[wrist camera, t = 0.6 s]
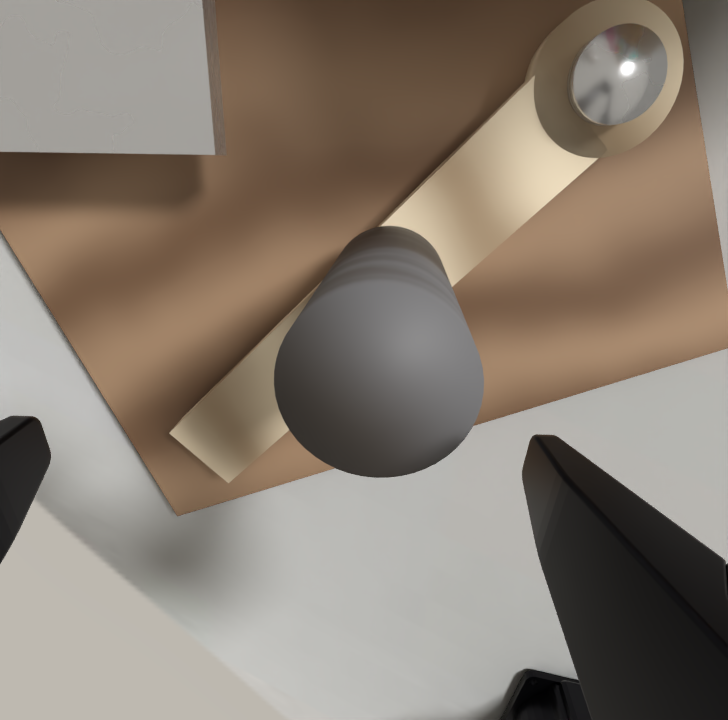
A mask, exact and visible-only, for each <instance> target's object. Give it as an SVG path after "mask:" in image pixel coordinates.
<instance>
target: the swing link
mask: <svg viewBox="0 0 728 720" xmlns="http://www.w3.org/2000/svg"><path fill="white" fill-rule="evenodd" d="M626 23H633V24H639V25H642V26H645V27H647V28H649V29H650V30H652V31H653V32H654V33H655V34H656V35H657V36H658V37H659V38H660V40H661V41H662V43H663V45H664V47H665V50H666V54H667V61H668V68H667V76H666V80H665V83H664V86H663V88H662V90H661V92H660V94H659V96H658V98H657V99H656V101H655V102H654V103H653V104H652V105H651V107H650V108H649V109H648V110H647V111H645V112H644V113H643V114H642V115H640V116H638V117H637V118H635V119H633V120H631V121H629V122H626V123H622V124H616V125H611V126H596V125H592V124H589V123H587V122H585V121H584V120H582V119H581V118H580V117H579V116H578V115H577V114H576V113H575V112H574V110H573V109H572V107H571V105H570V103H569V99H568V95H567V78H568V73H569V70H570V67H571V64H572V62H573V60H574V58H575V57H576V55H577V54H578V52H579V51H580V49H581V48H582V47H583V46H584V45H585V44H586V43H587V42H589V41H590V40H591V39H593V38H594V37H596V36H597V35H599V34H600V33H602V32H603V31H605V30H607V29H609V28H611V27H613V26H616V25H620V24H626ZM683 63H684V59H683V49H682V45H681V40H680V37H679V35H678V32H677V30H676V28H675V26H674V24H673V23H672V21H671V20H670V18H669V17H668V16H667V15H666V14H665V13H664V12H663V11H662V10H661V9H660V8H659V7H657V6H656V5H654V4H653V3H651V2H649V1H647V0H595V1H592V2H590V3H588V4H586V5H584V6H583V7H581V8H579V9H578V10H576V11H575V12H574V13H572V14H571V15H570V16H569V17H568V18H566V19H565V20H564V21H563V22H562V23H561V24H560V25H558V26H557V27H556V28H555V29H554V30H553V31H552V32H550V33H549V35H548V36H547V37H546V38H545V39H544V40H543V41H542V43H541V44H540V46H539V47H538V49H537V50H536V52H535V54H534V56H533V57H532V59H531V62H530V64H529V67H528V70H527V73H526V76H525V82H524V83H523V84H522V85H521V86H520V87H519V88H518V89H517V90H516V91H515V92H514V93H513V94H512V95H511V96H510V97H509V98H508V99H507V100H506V101H505V102H504V103H503V104H502V105H501V106H500V107H499V108H498V109H497V110H496V111H494V112H493V113H492V114H491V115H490V116H489V117H488V118H487V119H486V120H485V121H484V122H483V123H482V124H481V125H480V126H479V127H478V128H477V129H476V130H475V131H474V132H473V133H472V134H471V135H470V136H469V137H468V138H467V139H466V140H465V141H464V142H463V143H462V144H461V145H460V146H459V147H458V148H457V149H456V150H455V151H454V152H453V153H452V154H451V155H450V156H449V157H448V158H447V159H446V160H445V161H444V162H442V163H441V164H440V165H439V166H438V167H437V168H436V169H435V170H434V171H433V172H432V173H431V174H430V175H429V176H428V177H427V178H426V179H425V180H424V181H423V182H422V183H421V184H420V185H419V186H418V187H417V188H416V189H415V190H414V191H413V192H412V193H411V194H410V195H409V196H408V197H407V198H406V199H405V200H404V201H403V202H402V203H401V204H400V205H399V206H398V207H397V208H396V209H395V210H394V211H393V212H392V213H390V214H389V215H388V216H387V217H386V218H385V219H384V220H383V221H382V222H381V223H380V224H379V225H378V226H377V227H375V228H372V229H369V230H367V231H365V232H362V233H361V234H359V235H358V236H356V237H355V238H353V239H352V240H351V241H350V242H349V243H348V244H347V245H346V246H345V248H344V249H343V251H342V252H341V253H340V255H339V256H338V258H337V259H336V261H335V262H334V264H333V265H332V267H331V268H330V270H329V271H328V273H327V274H326V276H325V277H324V279H323V280H322V281H321V282H320V283H319V284H318V285H317V286H316V287H315V288H314V289H313V290H312V291H311V292H310V293H309V294H308V295H307V296H306V297H305V298H304V299H303V300H302V301H301V302H300V303H299V304H298V305H297V306H296V307H295V308H294V309H293V310H292V311H291V312H290V313H289V314H288V315H286V316H285V317H284V318H283V319H282V320H281V321H280V322H279V323H278V324H277V325H276V326H275V327H274V328H273V329H272V330H271V331H270V332H269V333H268V334H267V335H266V336H265V337H264V338H263V339H262V340H261V341H260V342H259V343H258V344H257V345H256V346H255V347H254V348H253V349H252V350H251V351H250V352H249V353H248V354H247V355H246V356H245V357H244V358H243V359H242V360H241V361H240V362H239V363H238V364H237V365H236V366H234V367H233V368H232V369H231V370H230V371H229V372H228V373H227V374H226V375H225V376H224V377H223V378H222V379H221V380H220V381H219V382H218V383H217V384H216V385H215V386H214V387H213V388H212V389H211V390H210V391H209V392H208V393H207V394H206V395H205V396H204V397H203V398H202V399H201V400H200V401H199V402H198V403H197V404H196V405H195V406H194V407H193V408H192V409H191V410H190V411H189V412H188V413H187V414H186V415H185V416H184V417H183V418H182V419H181V420H180V421H179V422H178V423H177V425H176V426H175V427H174V428H173V429H172V430H171V432H170V433H169V434H171V435H172V436H173V437H174V438H175V439H176V440H178V441H179V442H180V443H181V444H182V445H184V446H185V447H186V448H187V449H188V450H190V451H191V452H192V453H193V454H194V455H195V456H197V457H198V458H199V459H200V460H201V461H203V462H204V463H205V464H206V465H207V466H209V467H210V468H211V469H212V470H213V471H214V472H216V473H217V474H218V475H219V476H220V477H222V478H223V479H224V480H225V481H226V482H227V483H230V482H231V481H232V480H233V479H234V478H235V477H236V476H238V475H239V474H240V473H241V472H242V471H243V470H244V469H245V468H247V467H248V466H249V465H250V464H251V463H252V462H253V461H255V460H256V459H257V458H258V457H259V456H260V455H261V454H263V453H264V452H265V451H266V450H267V449H268V448H269V447H271V446H272V445H273V444H274V443H275V442H276V441H277V440H278V439H280V438H281V437H282V436H283V435H284V434H285V433H286V432H288V431H289V430H290V432H291V433H292V434H293V436H294V437H295V438H296V440H297V441H298V442H299V443H300V444H301V445H302V446H303V447H304V448H305V449H306V450H307V451H309V452H310V453H311V454H312V455H314V456H315V457H316V458H318V459H320V460H321V461H323V462H324V463H326V464H328V465H330V466H332V467H334V468H336V469H339V470H342V471H345V472H347V473H351V474H355V475H360V476H366V477H396V476H403V475H407V474H411V473H415V472H417V471H420V470H423V469H425V468H427V467H429V466H431V465H434V464H436V463H437V462H439V461H440V460H442V459H443V458H445V457H446V456H448V455H449V454H450V453H451V452H452V451H453V450H455V449H456V448H457V447H458V446H459V444H460V443H461V442H462V441H463V440H464V439H465V437H466V436H467V435H468V433H469V432H470V430H471V429H472V427H473V425H474V423H475V421H476V419H477V417H478V414H479V411H480V408H481V404H482V399H483V393H484V375H483V367H482V363H481V359H480V355H479V352H478V350H477V348H476V345H475V343H474V340H473V338H472V335H471V333H470V330H469V328H468V325H467V323H466V320H465V318H464V316H463V313H462V311H461V308H460V306H459V303H458V301H457V298H456V296H455V293H454V291H453V288H452V287H453V286H454V285H455V284H456V283H457V282H458V281H459V280H461V279H462V278H463V277H464V276H465V275H466V274H467V273H469V272H470V271H471V270H472V269H473V268H474V267H475V266H477V265H478V264H479V263H480V262H481V261H482V260H483V259H484V258H486V257H487V256H488V255H489V254H490V253H491V252H492V251H494V250H495V249H496V248H497V247H498V246H499V245H500V244H502V243H503V242H504V241H505V240H506V239H507V238H508V237H510V236H511V235H512V234H513V233H514V232H515V231H516V230H517V229H519V228H520V227H521V226H522V225H523V224H524V223H525V222H527V221H528V220H529V219H530V218H531V217H532V216H533V215H535V214H536V213H537V212H538V211H539V210H540V209H541V208H543V207H544V206H545V205H546V204H547V203H548V202H549V201H550V200H552V199H553V198H554V197H555V196H556V195H557V194H558V193H560V192H561V191H562V190H563V189H564V188H565V187H566V186H568V185H569V184H570V183H571V182H572V181H573V180H574V179H576V178H577V177H578V176H579V175H580V174H581V173H582V172H583V171H585V170H586V169H587V168H588V167H589V166H590V165H591V164H593V163H594V162H595V161H596V160H597V159H598V158H604V157H610V156H614V155H617V154H620V153H623V152H625V151H627V150H630V149H632V148H633V147H635V146H637V145H638V144H640V143H641V142H643V141H644V140H645V139H646V138H648V137H649V136H650V135H651V134H652V133H653V132H654V131H655V130H656V129H657V128H658V127H659V126H660V124H661V123H662V122H663V121H664V119H665V118H666V116H667V115H668V113H669V112H670V110H671V108H672V106H673V104H674V102H675V100H676V97H677V95H678V92H679V89H680V85H681V82H682V75H683Z"/></svg>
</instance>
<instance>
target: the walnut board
mask: <svg viewBox="0 0 728 720" xmlns="http://www.w3.org/2000/svg"><path fill="white" fill-rule="evenodd" d="M592 1H595V0H215V11H216V24H217V37H218V50H219V63H220V76H221V89H222V102H223V115H224V128H225V141H226V154H227V155H170V154H105V153H40V152H0V230H1V232H2V233H3V235H4V237H5V238H6V240H7V242H8V243H9V245H10V246H11V248H12V250H13V251H14V253H15V254H16V256H17V258H18V259H19V261H20V263H21V264H22V266H23V267H24V269H25V271H26V272H27V274H28V275H29V277H30V279H31V280H32V282H33V284H34V285H35V287H36V288H37V290H38V292H39V293H40V295H41V296H42V298H43V300H44V301H45V303H46V305H47V306H48V308H49V309H50V311H51V313H52V314H53V316H54V317H55V319H56V321H57V322H58V324H59V326H60V327H61V329H62V330H63V332H64V334H65V335H66V337H67V338H68V340H69V342H70V343H71V345H72V347H73V348H74V350H75V351H76V353H77V355H78V356H79V358H80V359H81V361H82V363H83V364H84V366H85V368H86V369H87V371H88V372H89V374H90V376H91V377H92V379H93V380H94V382H95V384H96V385H97V387H98V389H99V390H100V392H101V393H102V395H103V397H104V398H105V400H106V401H107V403H108V405H109V406H110V408H111V410H112V411H113V413H114V414H115V416H116V418H117V419H118V421H119V422H120V424H121V426H122V427H123V429H124V431H125V432H126V434H127V435H128V437H129V439H130V440H131V442H132V443H133V445H134V447H135V448H136V450H137V452H138V453H139V455H140V456H141V458H142V460H143V461H144V463H145V464H146V466H147V468H148V469H149V471H150V473H151V474H152V476H153V477H154V479H155V481H156V482H157V484H158V485H159V487H160V489H161V490H162V492H163V494H164V495H165V497H166V498H167V500H168V502H169V503H170V505H171V506H172V508H173V510H174V511H175V513H176V515H177V516H180V515H183V514H186V513H190V512H193V511H196V510H199V509H203V508H206V507H209V506H213V505H216V504H219V503H222V502H226V501H229V500H232V499H236V498H239V497H242V496H245V495H249V494H252V493H255V492H258V491H262V490H265V489H268V488H272V487H275V486H278V485H281V484H285V483H288V482H291V481H294V480H298V479H301V478H304V477H308V476H311V475H314V474H317V473H321V472H324V471H327V470H330V469H334V467H332V466H330V465H328V464H326V463H324V462H323V461H321V460H320V459H318V458H316V457H315V456H314V455H312V454H311V453H310V452H309V451H307V450H306V449H305V448H304V447H303V446H302V445H301V444H300V443H299V442H298V441H297V440H296V438H295V437H294V436H293V434H292V433H291V432H290V430H289V431H288V432H286V433H285V434H284V435H283V436H282V437H281V438H280V439H278V440H277V441H276V442H275V443H274V444H273V445H272V446H271V447H269V448H268V449H267V450H266V451H265V452H264V453H263V454H261V455H260V456H259V457H258V458H257V459H256V460H255V461H253V462H252V463H251V464H250V465H249V466H248V467H247V468H245V469H244V470H243V471H242V472H241V473H240V474H239V475H238V476H236V477H235V478H234V479H233V480H232V481H231V482H230V483H227V482H226V481H225V480H224V479H223V478H222V477H220V476H219V475H218V474H217V473H216V472H214V471H213V470H212V469H211V468H210V467H209V466H207V465H206V464H205V463H204V462H203V461H201V460H200V459H199V458H198V457H197V456H195V455H194V454H193V453H192V452H191V451H190V450H188V449H187V448H186V447H185V446H184V445H182V444H181V443H180V442H179V441H178V440H176V439H175V438H174V437H173V436H172V435H171V434H169V433H170V432H171V430H172V429H173V428H174V427H175V426H176V425H177V423H178V422H179V421H180V420H181V419H182V418H183V417H184V416H185V415H186V414H187V413H188V412H189V411H190V410H191V409H192V408H193V407H194V406H195V405H196V404H197V403H198V402H199V401H200V400H201V399H202V398H203V397H204V396H205V395H206V394H207V393H208V392H209V391H210V390H211V389H212V388H213V387H214V386H215V385H216V384H217V383H218V382H219V381H220V380H221V379H222V378H223V377H224V376H225V375H226V374H227V373H228V372H229V371H230V370H231V369H232V368H233V367H234V366H236V365H237V364H238V363H239V362H240V361H241V360H242V359H243V358H244V357H245V356H246V355H247V354H248V353H249V352H250V351H251V350H252V349H253V348H254V347H255V346H256V345H257V344H258V343H259V342H260V341H261V340H262V339H263V338H264V337H265V336H266V335H267V334H268V333H269V332H270V331H271V330H272V329H273V328H274V327H275V326H276V325H277V324H278V323H279V322H280V321H281V320H282V319H283V318H284V317H285V316H286V315H288V314H289V313H290V312H291V311H292V310H293V309H294V308H295V307H296V306H297V305H298V304H299V303H300V302H301V301H302V300H303V299H304V298H305V297H306V296H307V295H308V294H309V293H310V292H311V291H312V290H313V289H314V288H315V287H316V286H317V285H318V284H319V283H320V282H321V281H322V280H323V279H324V277H325V276H326V274H327V273H328V271H329V270H330V268H331V267H332V265H333V264H334V262H335V261H336V259H337V258H338V256H339V255H340V253H341V252H342V251H343V249H344V248H345V246H346V245H347V244H348V243H349V242H350V241H351V240H352V239H353V238H355V237H356V236H358V235H359V234H361V233H362V232H365V231H367V230H369V229H372V228H375V227H377V226H378V225H379V224H380V223H381V222H382V221H383V220H384V219H385V218H386V217H387V216H388V215H389V214H390V213H392V212H393V211H394V210H395V209H396V208H397V207H398V206H399V205H400V204H401V203H402V202H403V201H404V200H405V199H406V198H407V197H408V196H409V195H410V194H411V193H412V192H413V191H414V190H415V189H416V188H417V187H418V186H419V185H420V184H421V183H422V182H423V181H424V180H425V179H426V178H427V177H428V176H429V175H430V174H431V173H432V172H433V171H434V170H435V169H436V168H437V167H438V166H439V165H440V164H441V163H442V162H444V161H445V160H446V159H447V158H448V157H449V156H450V155H451V154H452V153H453V152H454V151H455V150H456V149H457V148H458V147H459V146H460V145H461V144H462V143H463V142H464V141H465V140H466V139H467V138H468V137H469V136H470V135H471V134H472V133H473V132H474V131H475V130H476V129H477V128H478V127H479V126H480V125H481V124H482V123H483V122H484V121H485V120H486V119H487V118H488V117H489V116H490V115H491V114H492V113H493V112H494V111H496V110H497V109H498V108H499V107H500V106H501V105H502V104H503V103H504V102H505V101H506V100H507V99H508V98H509V97H510V96H511V95H512V94H513V93H514V92H515V91H516V90H517V89H518V88H519V87H520V86H521V85H522V84H523V83H524V82H525V76H526V73H527V70H528V67H529V64H530V62H531V59H532V57H533V56H534V54H535V52H536V50H537V49H538V47H539V46H540V44H541V43H542V41H543V40H544V39H545V38H546V37H547V36H548V35H549V33H550V32H552V31H553V30H554V29H555V28H556V27H557V26H558V25H560V24H561V23H562V22H563V21H564V20H565V19H566V18H568V17H569V16H570V15H571V14H572V13H574V12H575V11H576V10H578V9H579V8H581V7H583V6H584V5H586V4H588V3H590V2H592ZM647 1H649V2H651V3H653V4H654V5H656V6H657V7H659V8H660V9H661V10H662V11H663V12H664V13H665V14H666V15H667V16H668V17H669V18H670V20H671V21H672V23H673V24H674V26H675V28H676V30H677V32H678V35H679V37H680V40H681V45H682V49H683V59H684V63H683V75H682V82H681V85H680V89H679V92H678V95H677V97H676V100H675V102H674V104H673V106H672V108H671V110H670V112H669V113H668V115H667V116H666V118H665V119H664V121H663V122H662V123H661V124H660V126H659V127H658V128H657V129H656V130H655V131H654V132H653V133H652V134H651V135H650V136H649V137H648V138H646V139H645V140H644V141H643V142H641V143H640V144H638V145H637V146H635V147H633V148H632V149H630V150H627V151H625V152H623V153H620V154H617V155H614V156H610V157H604V158H598V159H597V160H596V161H595V162H594V163H593V164H591V165H590V166H589V167H588V168H587V169H586V170H585V171H583V172H582V173H581V174H580V175H579V176H578V177H577V178H576V179H574V180H573V181H572V182H571V183H570V184H569V185H568V186H566V187H565V188H564V189H563V190H562V191H561V192H560V193H558V194H557V195H556V196H555V197H554V198H553V199H552V200H550V201H549V202H548V203H547V204H546V205H545V206H544V207H543V208H541V209H540V210H539V211H538V212H537V213H536V214H535V215H533V216H532V217H531V218H530V219H529V220H528V221H527V222H525V223H524V224H523V225H522V226H521V227H520V228H519V229H517V230H516V231H515V232H514V233H513V234H512V235H511V236H510V237H508V238H507V239H506V240H505V241H504V242H503V243H502V244H500V245H499V246H498V247H497V248H496V249H495V250H494V251H492V252H491V253H490V254H489V255H488V256H487V257H486V258H484V259H483V260H482V261H481V262H480V263H479V264H478V265H477V266H475V267H474V268H473V269H472V270H471V271H470V272H469V273H467V274H466V275H465V276H464V277H463V278H462V279H461V280H459V281H458V282H457V283H456V284H455V285H454V286H453V287H452V288H453V291H454V293H455V296H456V298H457V301H458V303H459V306H460V308H461V311H462V313H463V316H464V318H465V320H466V323H467V325H468V328H469V330H470V333H471V335H472V338H473V340H474V343H475V345H476V348H477V350H478V352H479V355H480V359H481V363H482V367H483V375H484V393H483V399H482V404H481V408H480V411H479V414H478V417H477V419H476V421H475V423H474V425H478V424H481V423H484V422H488V421H491V420H494V419H497V418H501V417H504V416H507V415H510V414H514V413H517V412H520V411H524V410H527V409H530V408H533V407H537V406H540V405H543V404H547V403H550V402H553V401H556V400H560V399H563V398H566V397H569V396H573V395H576V394H579V393H583V392H586V391H589V390H592V389H596V388H599V387H602V386H605V385H609V384H612V383H615V382H619V381H622V380H625V379H628V378H632V377H635V376H638V375H641V374H645V373H648V372H651V371H655V370H658V369H661V368H664V367H668V366H671V365H674V364H677V363H681V362H684V361H687V360H691V359H694V358H697V357H700V356H704V355H707V354H710V353H713V352H717V351H720V350H723V349H727V348H728V289H727V283H726V277H725V270H724V264H723V258H722V251H721V245H720V238H719V232H718V226H717V219H716V213H715V207H714V200H713V194H712V188H711V181H710V175H709V169H708V162H707V156H706V149H705V143H704V137H703V130H702V124H701V118H700V111H699V105H698V99H697V92H696V86H695V80H694V73H693V67H692V61H691V54H690V48H689V41H688V35H687V29H686V22H685V16H684V10H683V3H682V0H647ZM474 425H473V426H474Z"/></svg>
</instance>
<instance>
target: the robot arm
mask: <svg viewBox="0 0 728 720" xmlns="http://www.w3.org/2000/svg"><path fill="white" fill-rule="evenodd" d="M50 460H51V452H50V448H49V445H48V443H47V440H46V437H45V434H44V431H43V428H42V425H41V422H40V421H39V420H38V419H37V418H36V417H33V416H10V417H8V418H5V419H3V420H1V421H0V563H1V562H2V560H3V558H4V557H5V555H6V553H7V552H8V550H9V548H10V546H11V545H12V543H13V541H14V539H15V537H16V535H17V533H18V531H19V529H20V527H21V525H22V523H23V521H24V519H25V517H26V514H27V512H28V510H29V508H30V505H31V504H32V501H33V499H34V497H35V495H36V493H37V491H38V488H39V486H40V484H41V482H42V480H43V478H44V475H45V473H46V471H47V469H48V467H49V464H50ZM522 480H523V485H524V490H525V495H526V500H527V505H528V510H529V515H530V520H531V524H532V529H533V534H534V539H535V544H536V548H537V552H538V556H539V560H540V563H541V566H542V570H543V573H544V576H545V579H546V582H547V585H548V588H549V591H550V594H551V597H552V600H553V603H554V606H555V609H556V612H557V615H558V618H559V621H560V624H561V627H562V630H563V633H564V636H565V640H566V643H567V646H568V649H569V652H570V655H571V658H572V661H573V664H574V667H575V670H576V673H577V676H578V679H579V681H576V680H572V679H568V678H564V677H559V676H555V675H551V674H547V673H542V672H538V671H532V670H531V671H527V672H526V673H525V674H524V675H523V677H522V679H521V681H520V683H519V685H518V687H517V689H516V691H515V693H514V695H513V697H512V699H511V701H510V703H509V705H508V707H507V709H506V710H505V712H504V714H503V716H502V718H501V720H728V564H726V561H725V560H724V559H723V558H722V557H720V556H719V555H718V554H716V553H715V552H714V551H712V550H711V549H710V548H708V547H707V546H705V545H704V544H703V543H701V542H700V541H699V540H697V539H696V538H695V537H693V536H692V535H690V534H689V533H688V532H686V531H685V530H684V529H682V528H681V527H680V526H678V525H677V524H676V523H674V522H673V521H671V520H670V519H669V518H667V517H666V516H665V515H663V514H662V513H661V512H659V511H658V510H657V509H655V508H654V507H652V506H651V505H650V504H648V503H647V502H646V501H644V500H643V499H642V498H640V497H639V496H637V495H636V494H635V493H633V492H632V491H631V490H629V489H628V488H627V487H625V486H624V485H623V484H621V483H620V482H618V481H617V480H616V479H614V478H613V477H612V476H610V475H609V474H608V473H606V472H605V471H603V470H602V469H601V468H599V467H598V466H597V465H595V464H594V463H593V462H591V461H590V460H589V459H587V458H586V457H584V456H583V455H582V454H580V453H579V452H578V451H576V450H575V449H574V448H572V447H571V446H569V445H568V444H567V443H565V442H564V441H563V440H561V439H560V438H559V437H557V436H555V435H534V436H532V438H531V440H530V442H529V446H528V450H527V454H526V457H525V461H524V465H523V470H522Z"/></svg>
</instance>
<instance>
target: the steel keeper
mask: <svg viewBox="0 0 728 720" xmlns="http://www.w3.org/2000/svg"><path fill="white" fill-rule="evenodd" d="M667 68H668V61H667V54H666V50H665V47H664V45H663V43H662V41H661V40H660V38H659V37H658V36H657V35H656V34H655V33H654V32H653V31H652V30H650V29H649V28H647V27H645V26H642V25H639V24H633V23H626V24H620V25H616V26H613V27H611V28H609V29H607V30H605V31H603V32H602V33H600V34H599V35H597V36H596V37H594V38H593V39H591V40H590V41H589V42H587V43H586V44H585V45H584V46H583V47H582V48H581V49H580V51H579V52H578V54H577V55H576V57H575V58H574V60H573V62H572V64H571V67H570V70H569V73H568V78H567V95H568V99H569V103H570V105H571V107H572V109H573V110H574V112H575V113H576V114H577V115H578V116H579V117H580V118H581V119H582V120H584V121H585V122H587V123H589V124H592V125H596V126H611V125H616V124H622V123H626V122H629V121H631V120H633V119H635V118H637V117H638V116H640V115H642V114H643V113H644V112H645V111H647V110H648V109H649V108H650V107H651V105H652V104H653V103H654V102H655V101H656V99H657V98H658V96H659V94H660V92H661V90H662V88H663V86H664V83H665V80H666V76H667ZM0 152H40V153H105V154H170V155H227V154H226V141H225V128H224V115H223V102H222V89H221V76H220V63H219V50H218V37H217V24H216V11H215V0H0Z"/></svg>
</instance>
